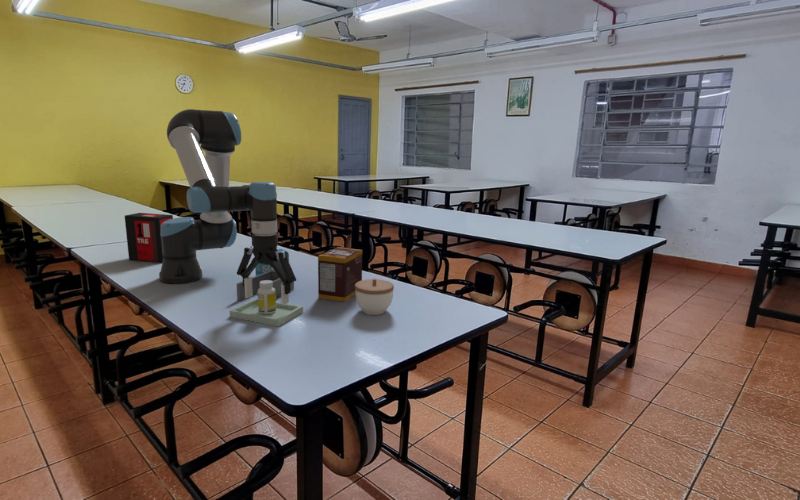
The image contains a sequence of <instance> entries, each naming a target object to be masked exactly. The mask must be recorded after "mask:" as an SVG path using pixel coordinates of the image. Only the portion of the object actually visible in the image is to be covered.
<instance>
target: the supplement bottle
mask: <svg viewBox="0 0 800 500" xmlns="http://www.w3.org/2000/svg"><path fill="white" fill-rule="evenodd" d="M272 286H273V281H271V280H264V281H260V288H259V289H258V293H257V298H258V311H259V313H261V314H271V313H274V312H275V311H276V302H277V298H276V293H275V289H274V288H273V287H272Z"/></svg>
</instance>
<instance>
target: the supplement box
mask: <svg viewBox="0 0 800 500" xmlns="http://www.w3.org/2000/svg"><path fill="white" fill-rule="evenodd" d="M317 269H318V270H317V277H318V279H317V281H318V283H317V284H318V286H317V287H318V290H317V291H318V293H317V294H318V296H317V297H318V298H319V299H325V300H330V301H336V302H337V301H338V302H343V303H344V302H346V301H348V300H349V299H350V298H352V297H353V296H356V295H355V284H356V283H357V282H359V281H362V280H363V249H358V248H357V249H356V248H348V247H341V246H340V247H339V246H337V247H334V248H333V249H330V250H328V251H326V252H323V253H322V254H319V255H318V256H317Z"/></svg>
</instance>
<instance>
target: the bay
mask: <svg viewBox="0 0 800 500" xmlns="http://www.w3.org/2000/svg"><path fill="white" fill-rule="evenodd" d="M251 277H252V292H253V295H256V294H258V289H259V288H260V281H264V280H271V281H273V286H272V287H273V288H274V289H275V293H276V299H277V298H278V297H281V284H283V282H282V280H281V279H280V278H279V276H278V275H277V273H276V272H275V271H274V270H270V271H267V272H265V273H262V274H260V275H257V276H256V275H254V276H251ZM294 289H295V282H292V283H291V284H290V290H291V291H293V290H294ZM236 299H237V301H242V300H245V299H246V298H245V287H243V280H242V281H239V282H237V283H236Z"/></svg>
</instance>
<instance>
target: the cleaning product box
mask: <svg viewBox="0 0 800 500" xmlns="http://www.w3.org/2000/svg"><path fill="white" fill-rule="evenodd" d="M170 219H174V215H173V214H165V213H163V214H161V213H160V214H159V213H147V212H135V213H132V214H131V213H130V214H125V215H124V223H125V224H124V225H125V233H126V243H127V244H126V245H127V252H128V261H132V262H144V263H153V264H162V263H163V253H162V241H161V236H160V234H161V224H162V223H163V222H165V221H167V220H170Z"/></svg>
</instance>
